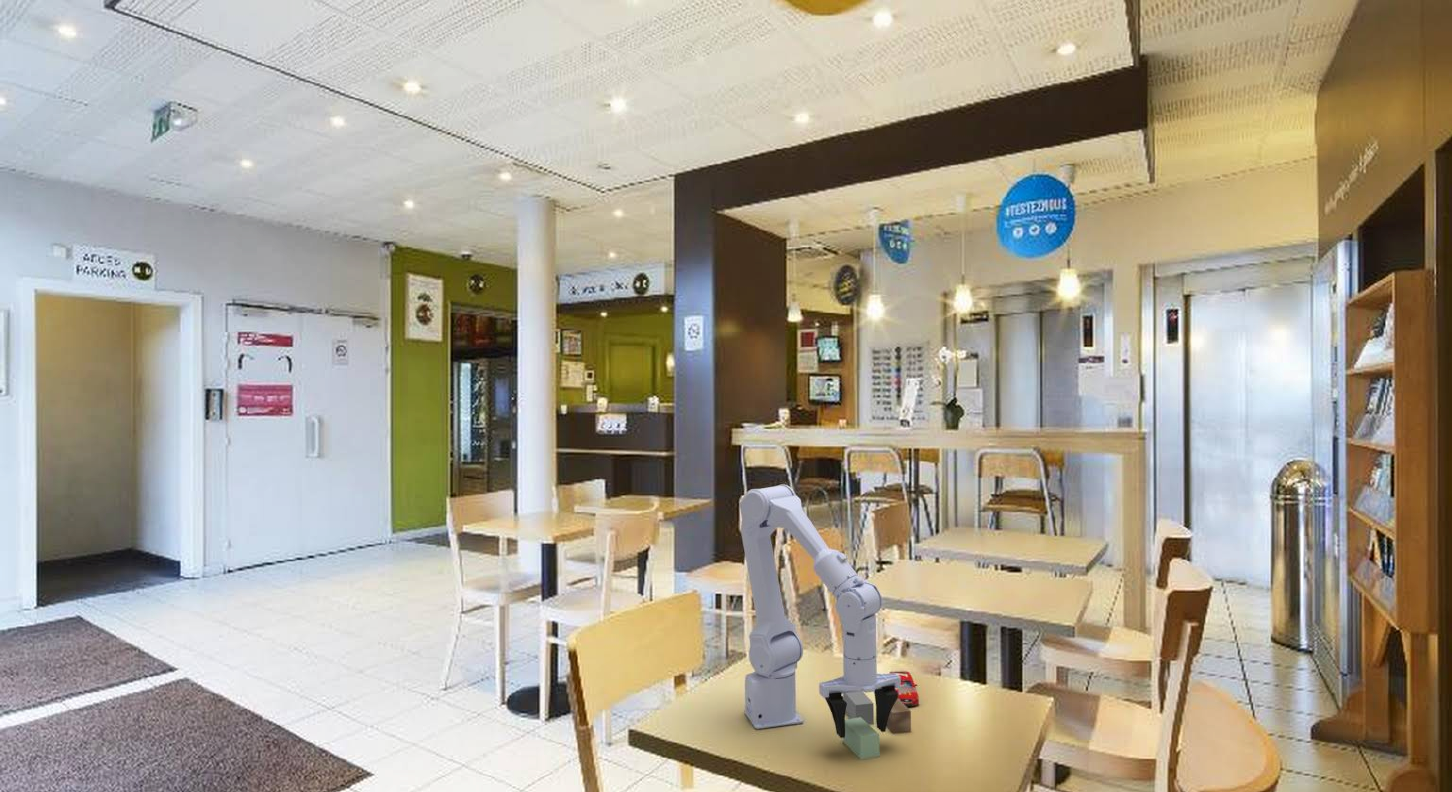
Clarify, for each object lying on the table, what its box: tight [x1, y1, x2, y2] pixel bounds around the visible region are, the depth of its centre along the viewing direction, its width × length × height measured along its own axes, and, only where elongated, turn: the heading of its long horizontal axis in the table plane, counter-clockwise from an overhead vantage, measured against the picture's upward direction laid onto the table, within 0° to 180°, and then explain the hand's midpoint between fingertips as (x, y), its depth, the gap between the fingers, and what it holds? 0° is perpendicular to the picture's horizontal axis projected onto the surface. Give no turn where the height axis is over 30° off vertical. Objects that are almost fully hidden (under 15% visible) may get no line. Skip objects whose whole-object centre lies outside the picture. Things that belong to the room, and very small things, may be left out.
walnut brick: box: [886, 699, 912, 735], centre depth 141 cm, size 4×7×4 cm, turn 10°
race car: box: [888, 670, 920, 707], centre depth 155 cm, size 13×5×4 cm, turn 172°
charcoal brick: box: [842, 691, 875, 725], centre depth 145 cm, size 4×7×4 cm, turn 10°
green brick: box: [842, 717, 880, 761], centre depth 132 cm, size 4×7×4 cm, turn 16°
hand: (861, 732), depth 132 cm, fingers open, 7 cm apart
